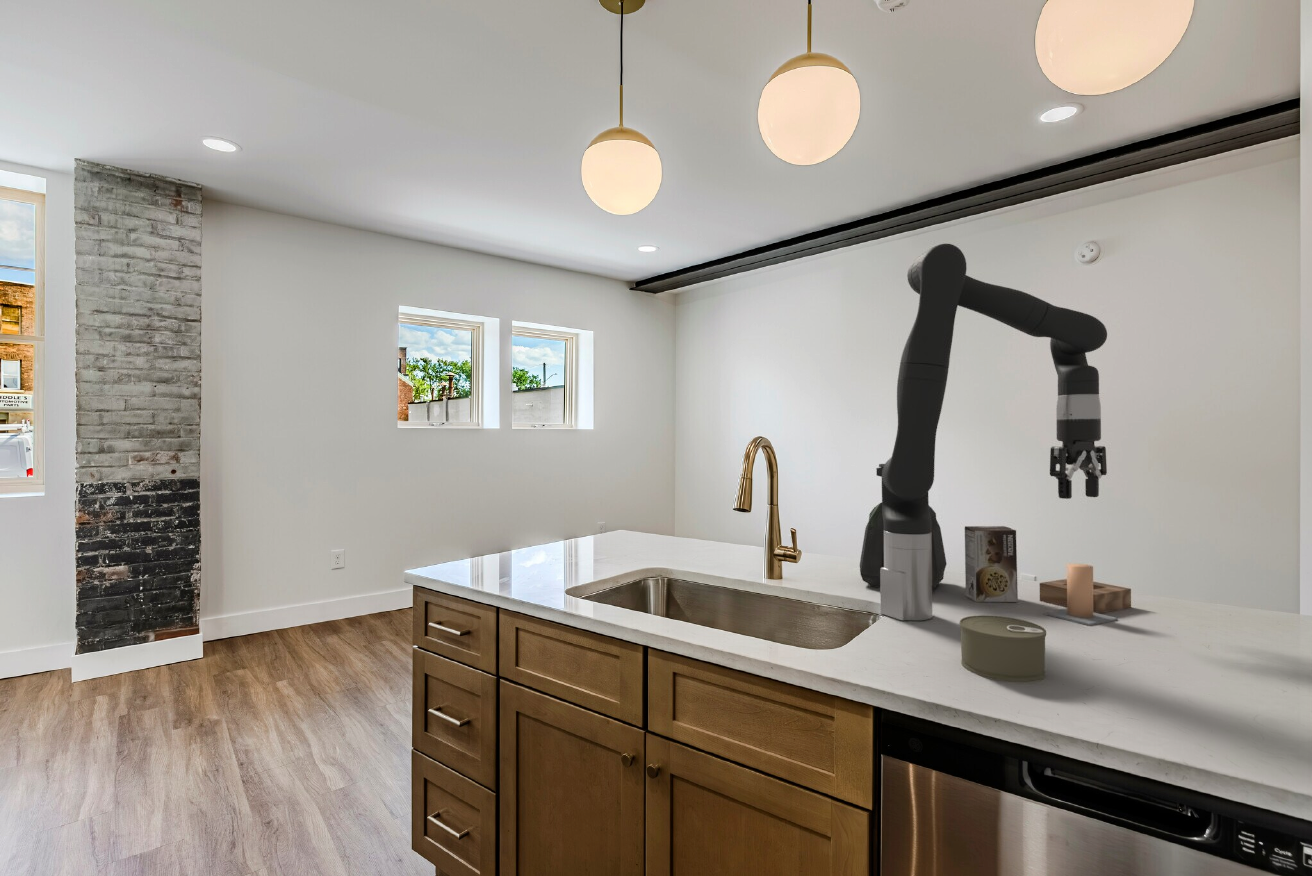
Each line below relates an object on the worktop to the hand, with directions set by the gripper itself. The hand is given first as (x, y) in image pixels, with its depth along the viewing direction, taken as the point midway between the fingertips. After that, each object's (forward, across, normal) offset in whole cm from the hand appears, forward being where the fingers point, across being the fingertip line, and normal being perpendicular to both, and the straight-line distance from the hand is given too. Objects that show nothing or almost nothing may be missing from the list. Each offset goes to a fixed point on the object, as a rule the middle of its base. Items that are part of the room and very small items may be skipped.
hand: (1078, 497), depth 129 cm
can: (+25, -40, -13) cm, 49 cm away
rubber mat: (+24, 0, 0) cm, 24 cm away
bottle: (+24, -10, +37) cm, 45 cm away
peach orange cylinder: (+24, 0, 0) cm, 24 cm away
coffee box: (+24, -3, +18) cm, 30 cm away
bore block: (+24, +11, +6) cm, 27 cm away
